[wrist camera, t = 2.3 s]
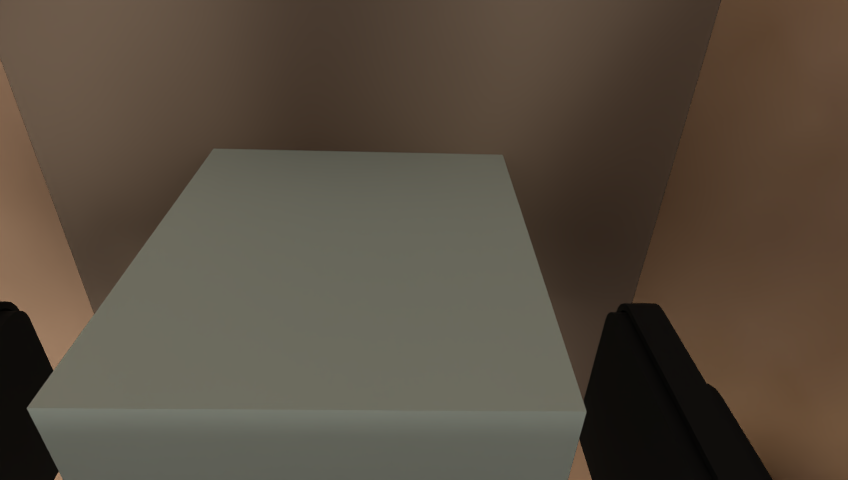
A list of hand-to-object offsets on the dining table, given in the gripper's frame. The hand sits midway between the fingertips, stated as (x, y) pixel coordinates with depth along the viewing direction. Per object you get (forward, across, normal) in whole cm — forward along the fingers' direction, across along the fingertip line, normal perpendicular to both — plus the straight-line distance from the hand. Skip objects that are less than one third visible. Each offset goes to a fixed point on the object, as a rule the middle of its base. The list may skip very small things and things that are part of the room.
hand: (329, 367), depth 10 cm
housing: (+3, 0, 0) cm, 3 cm away
